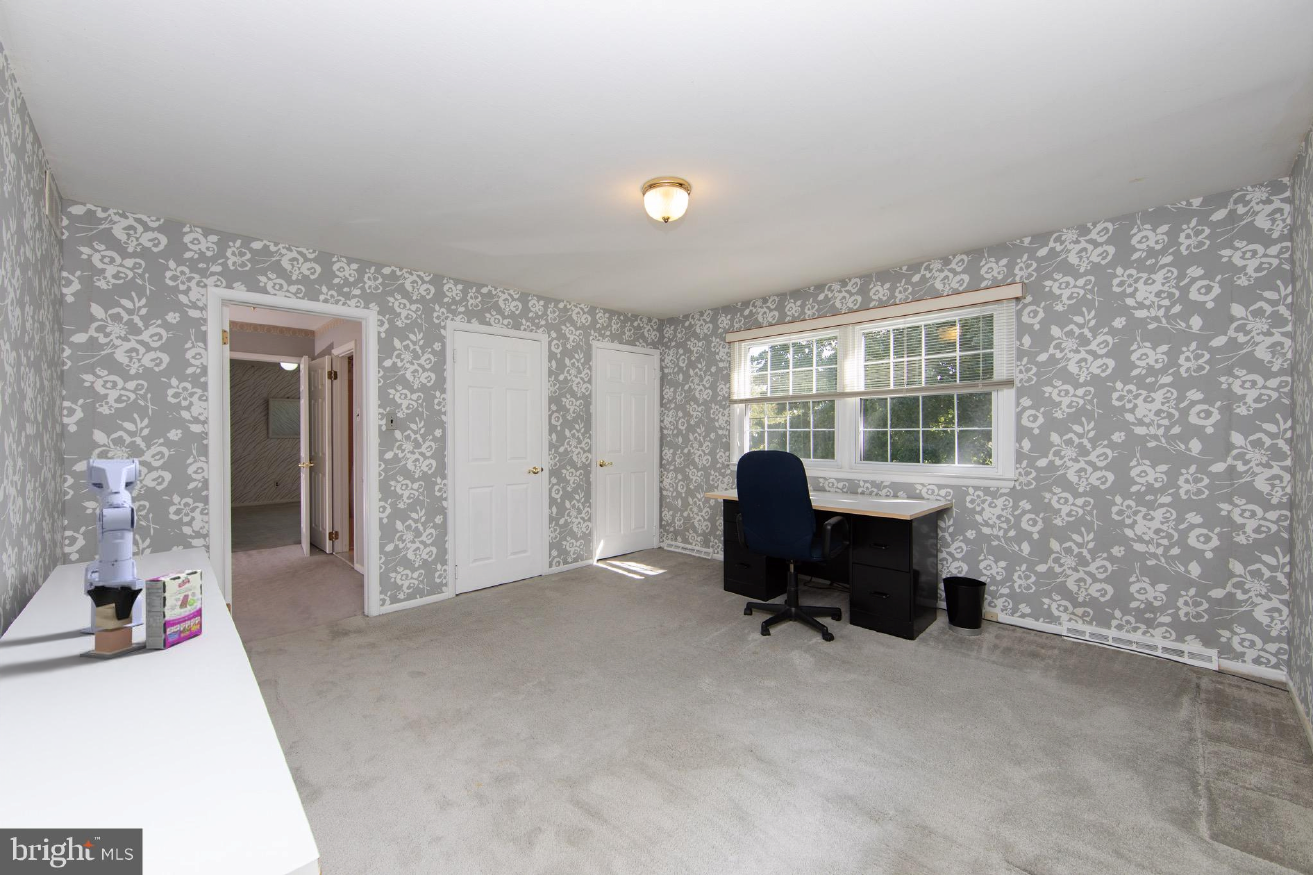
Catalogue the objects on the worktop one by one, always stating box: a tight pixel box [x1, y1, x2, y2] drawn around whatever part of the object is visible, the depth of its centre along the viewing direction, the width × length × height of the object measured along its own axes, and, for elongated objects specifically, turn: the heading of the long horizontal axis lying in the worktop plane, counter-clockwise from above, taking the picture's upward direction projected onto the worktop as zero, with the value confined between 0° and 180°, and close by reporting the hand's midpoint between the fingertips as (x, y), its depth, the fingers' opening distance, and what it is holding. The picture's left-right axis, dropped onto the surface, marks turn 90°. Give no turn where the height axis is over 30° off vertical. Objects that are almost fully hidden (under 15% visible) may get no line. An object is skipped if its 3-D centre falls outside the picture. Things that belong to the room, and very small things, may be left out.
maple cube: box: [95, 604, 133, 629], centre depth 132 cm, size 4×4×4 cm
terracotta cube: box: [94, 626, 133, 653], centre depth 132 cm, size 4×4×4 cm
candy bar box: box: [145, 569, 203, 650], centre depth 139 cm, size 11×5×16 cm, turn 0°
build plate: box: [79, 642, 146, 660], centre depth 132 cm, size 8×8×1 cm
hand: (114, 618), depth 132 cm, fingers closed on maple cube, 4 cm apart
